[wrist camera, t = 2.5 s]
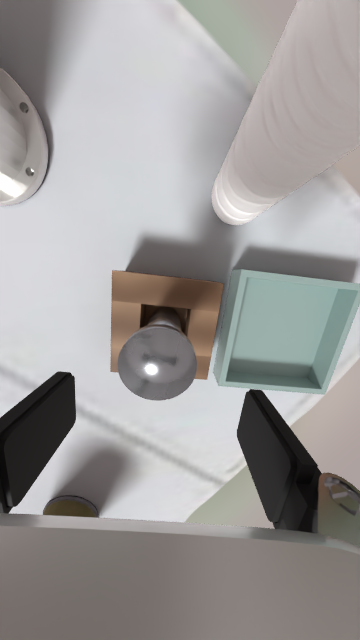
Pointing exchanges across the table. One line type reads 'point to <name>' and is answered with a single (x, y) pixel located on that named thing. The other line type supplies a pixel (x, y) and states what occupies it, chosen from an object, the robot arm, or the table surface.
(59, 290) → the table surface
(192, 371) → the steel pin
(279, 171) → the water bottle
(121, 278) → the block
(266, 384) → the tray
